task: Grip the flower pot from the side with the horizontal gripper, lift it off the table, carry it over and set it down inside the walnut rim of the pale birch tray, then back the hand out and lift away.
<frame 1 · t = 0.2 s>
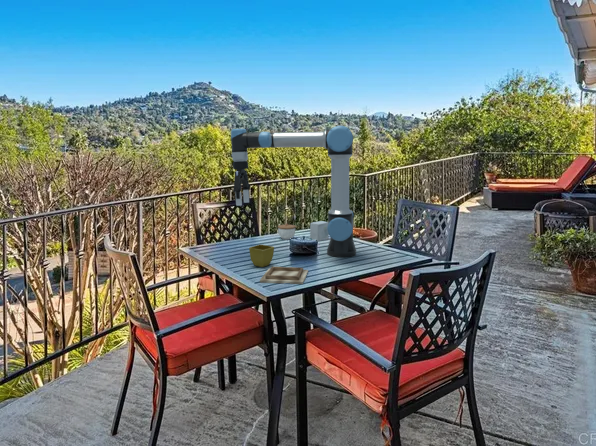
hand: (242, 204, 222), 27 cm above the table, tool pointing down, fingers open, 13 cm apart
lidded jar: (286, 238, 272), on the table
flower pot: (262, 266, 211), on the table
skincare box: (319, 239, 270), on the table
birch tray: (284, 277, 193), on the table
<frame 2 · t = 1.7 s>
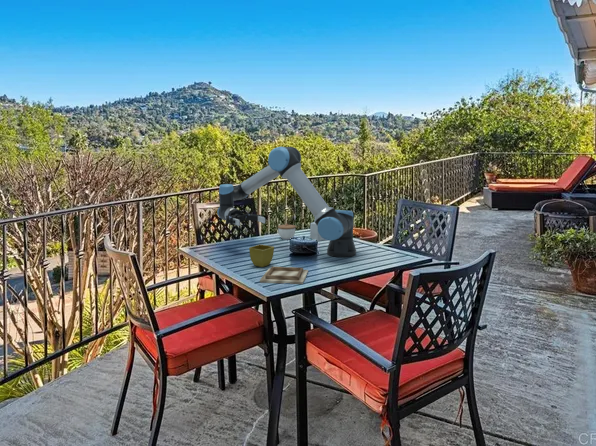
hand: (252, 221, 216), 20 cm above the table, tool horizontal, fingers open, 13 cm apart
nothing on the table moved.
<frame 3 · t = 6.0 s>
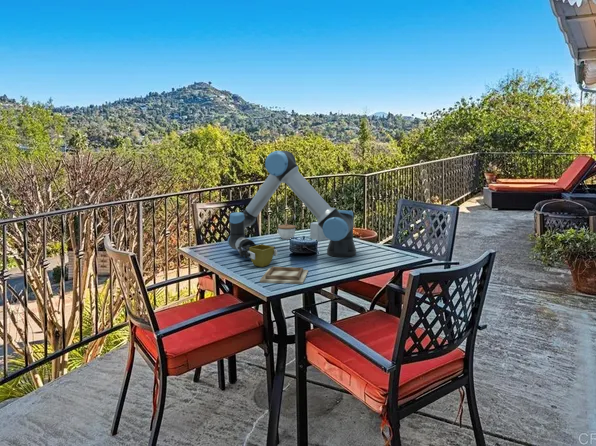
hand: (265, 254, 207), 6 cm above the table, tool horizontal, fingers closed on flower pot, 11 cm apart
flower pot: (262, 266, 211), on the table, touching gripper
everything else where it was.
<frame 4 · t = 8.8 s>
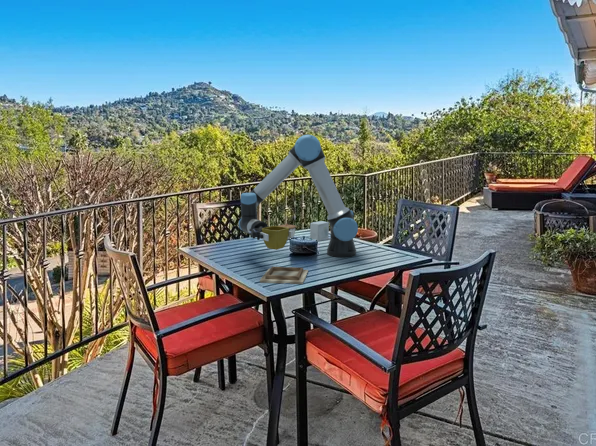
hand: (280, 236, 190), 18 cm above the table, tool horizontal, fingers closed on flower pot, 11 cm apart
flower pot: (275, 248, 194), point 12 cm above the table, touching gripper
everything else where it was.
when the fingers open (8 cm above the table, at t = 11.6 s): flower pot drops 1 cm, resting on birch tray.
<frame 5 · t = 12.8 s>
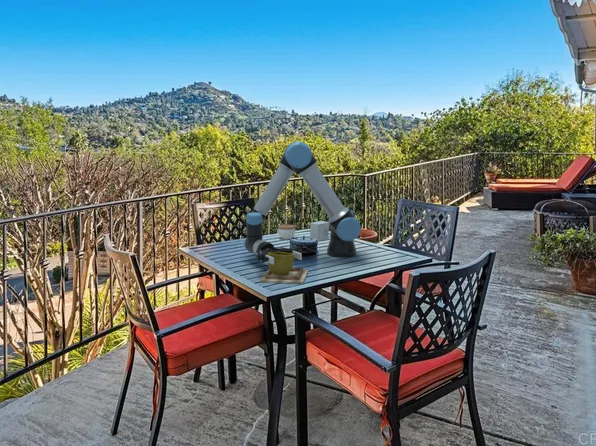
hand: (287, 259, 189), 9 cm above the table, tool horizontal, fingers open, 13 cm apart
flower pot: (280, 274, 192), point 1 cm above the table, touching birch tray, gripper
everything else where it was.
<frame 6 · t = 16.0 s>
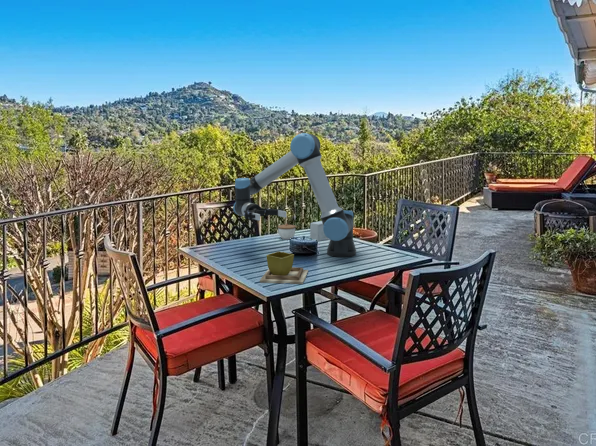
hand: (272, 216, 203), 24 cm above the table, tool horizontal, fingers open, 13 cm apart
flower pot: (280, 275, 192), point 1 cm above the table, touching birch tray
everything else where it was.
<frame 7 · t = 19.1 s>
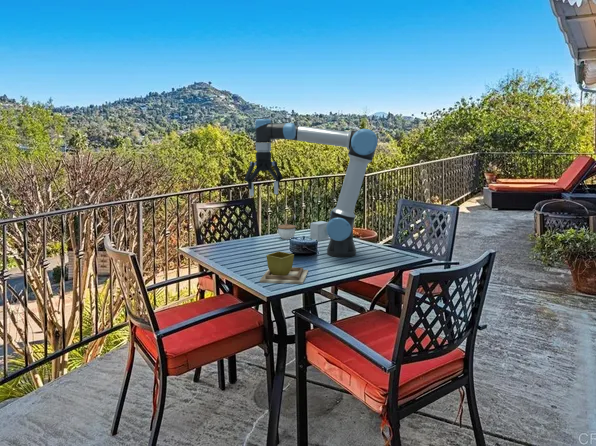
hand: (264, 195, 222), 32 cm above the table, tool pointing down, fingers open, 13 cm apart
nothing on the table moved.
at the end: flower pot inside the target area on the birch tray (1.9 cm from its centre), point 0.8 cm above the birch tray's base; flower pot tilted 0°; the gripper is holding nothing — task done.
